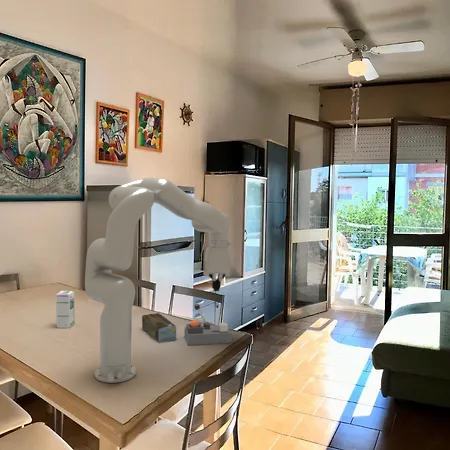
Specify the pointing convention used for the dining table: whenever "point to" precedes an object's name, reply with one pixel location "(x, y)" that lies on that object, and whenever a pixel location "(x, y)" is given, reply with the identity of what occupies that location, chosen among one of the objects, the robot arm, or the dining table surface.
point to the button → (194, 323)
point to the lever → (200, 313)
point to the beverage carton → (159, 327)
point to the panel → (206, 335)
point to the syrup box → (65, 309)
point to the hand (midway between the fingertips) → (216, 290)
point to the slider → (222, 327)
